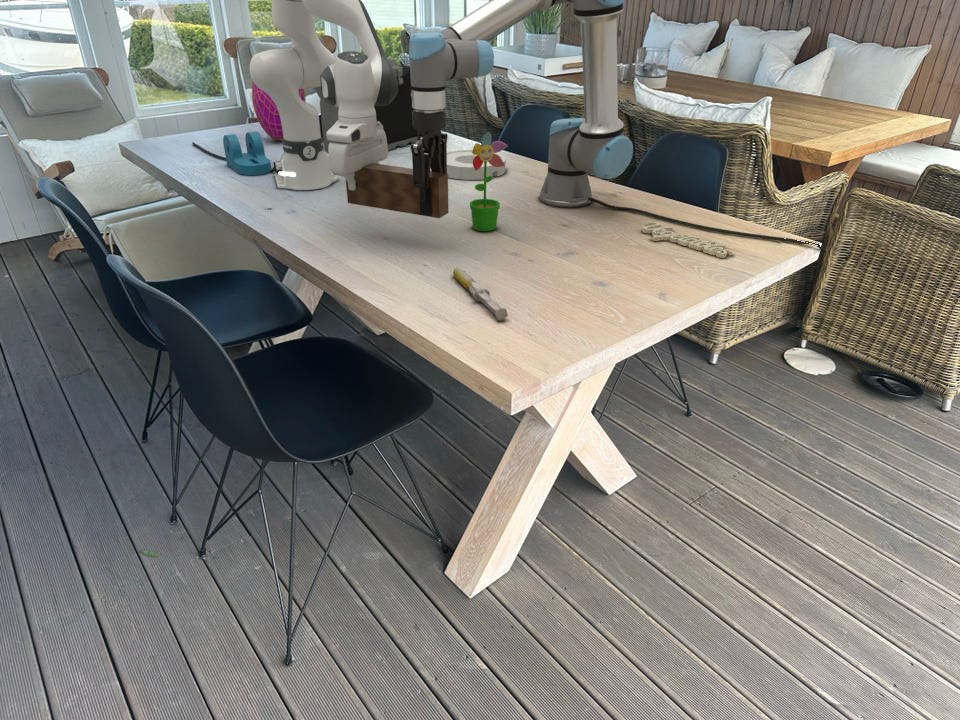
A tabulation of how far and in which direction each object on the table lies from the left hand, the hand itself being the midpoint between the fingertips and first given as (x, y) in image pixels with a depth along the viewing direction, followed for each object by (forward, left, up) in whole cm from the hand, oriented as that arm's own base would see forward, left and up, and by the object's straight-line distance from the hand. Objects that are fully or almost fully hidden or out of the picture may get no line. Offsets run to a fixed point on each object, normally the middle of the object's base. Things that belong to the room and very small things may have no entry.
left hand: (362, 185), depth 170 cm
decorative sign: (+41, +69, -13) cm, 82 cm away
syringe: (+46, +8, -13) cm, 48 cm away
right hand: (+16, +11, -4) cm, 20 cm away
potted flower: (+9, +30, -13) cm, 34 cm away
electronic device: (-89, +36, -13) cm, 97 cm away
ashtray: (-42, +53, -13) cm, 69 cm away
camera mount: (-77, -11, -13) cm, 79 cm away
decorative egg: (-113, +9, -13) cm, 114 cm away
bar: (+8, +6, -4) cm, 11 cm away
